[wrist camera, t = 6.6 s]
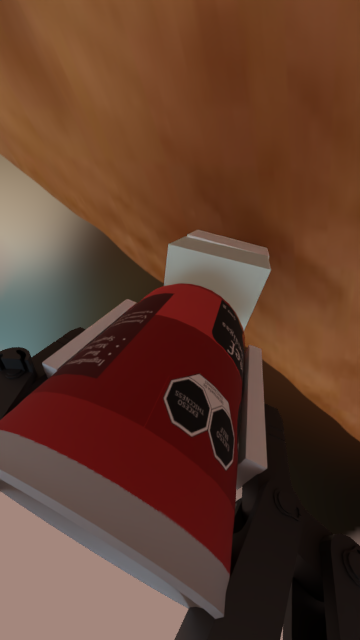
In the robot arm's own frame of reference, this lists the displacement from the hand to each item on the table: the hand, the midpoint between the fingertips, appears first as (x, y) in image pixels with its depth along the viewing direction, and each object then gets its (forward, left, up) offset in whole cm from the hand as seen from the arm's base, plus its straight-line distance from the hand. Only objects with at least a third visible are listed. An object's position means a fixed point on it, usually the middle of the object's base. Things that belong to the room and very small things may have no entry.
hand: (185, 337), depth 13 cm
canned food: (0, 0, -1) cm, 1 cm away
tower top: (0, 0, -12) cm, 12 cm away
